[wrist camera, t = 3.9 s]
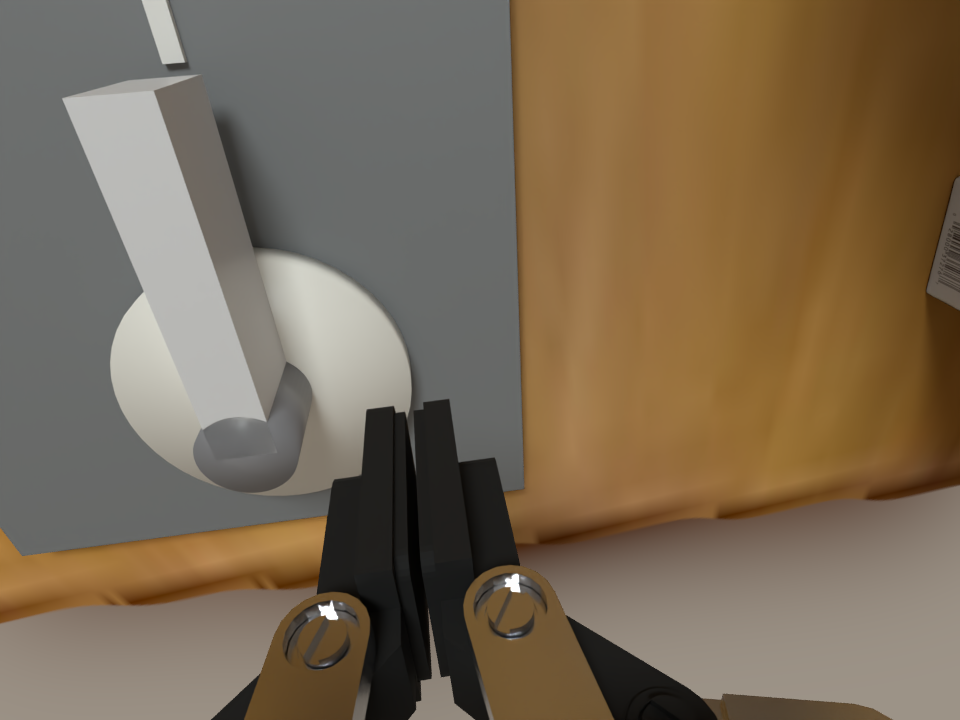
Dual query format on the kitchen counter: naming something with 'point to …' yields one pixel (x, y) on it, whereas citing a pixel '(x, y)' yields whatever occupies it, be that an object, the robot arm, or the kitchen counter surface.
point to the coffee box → (948, 256)
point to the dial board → (253, 229)
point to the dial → (229, 309)
